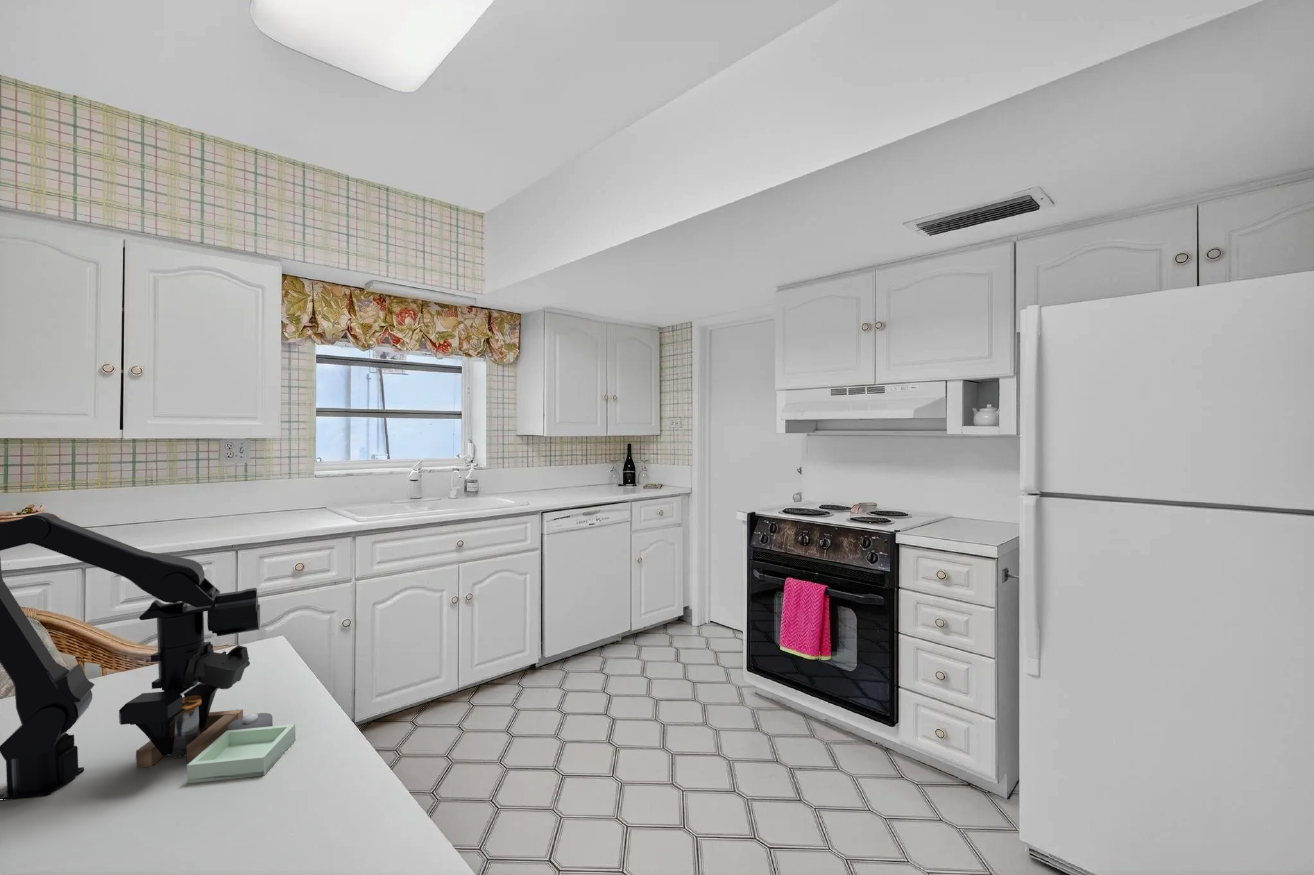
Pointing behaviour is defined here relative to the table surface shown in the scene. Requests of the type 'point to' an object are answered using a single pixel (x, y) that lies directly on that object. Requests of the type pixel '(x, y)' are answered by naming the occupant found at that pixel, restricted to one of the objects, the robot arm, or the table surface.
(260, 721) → the pulley
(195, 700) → the pin
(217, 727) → the brown u-shaped piece
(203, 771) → the tray
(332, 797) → the table surface
